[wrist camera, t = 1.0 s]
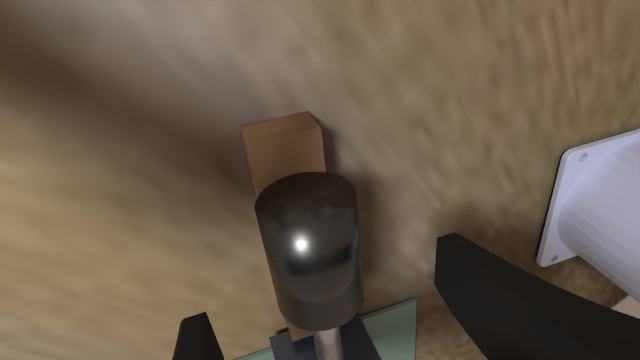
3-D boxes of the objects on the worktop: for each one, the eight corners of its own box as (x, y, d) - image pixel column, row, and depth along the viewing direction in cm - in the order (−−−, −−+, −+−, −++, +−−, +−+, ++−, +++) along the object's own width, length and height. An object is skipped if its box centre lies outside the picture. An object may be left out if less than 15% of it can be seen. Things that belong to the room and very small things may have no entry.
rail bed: (308, 111, 15) (320, 127, 14) (333, 299, 21) (344, 324, 20) (239, 126, 15) (246, 145, 13) (284, 316, 20) (292, 342, 19)
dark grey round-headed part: (222, 171, 15) (240, 252, 11) (340, 142, 16) (395, 206, 12) (272, 349, 20) (296, 443, 17) (356, 320, 21) (397, 403, 18)
